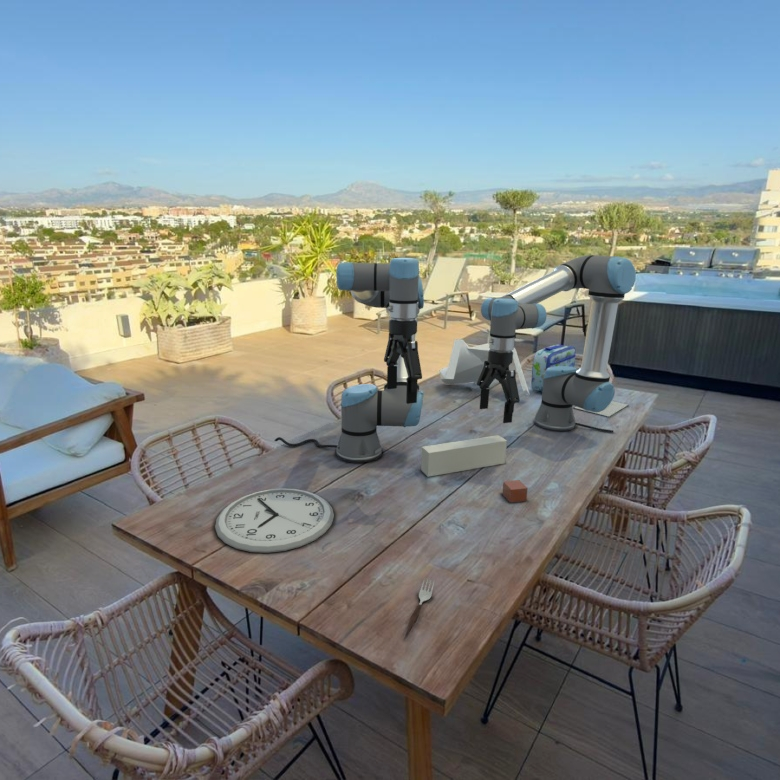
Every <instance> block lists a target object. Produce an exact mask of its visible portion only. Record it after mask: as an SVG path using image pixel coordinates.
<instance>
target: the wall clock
mask: <svg viewBox="0 0 780 780" xmlns="http://www.w3.org/2000/svg"><path fill="white" fill-rule="evenodd" d="M334 518H335V514H334V509H333V507H332V506H331V504H330V503H329V502H328V501H327V499H325V498H323V497H321V496H320V495H318V494H316V493H313V492H311V491H307V490H304V489H296V488H270V489H265V490H260V491H256V492H252V493H250V494H246V495H244V496H242V497H240V498H238V499H236V500H234V501H232V502H231V503H229V504H228V505H227V506H226V507H224V508H223V509H222V510H221V511H220V513H219V515H218V516H217V518H216V520H215V525H214V529H215V532H216V535H217V538H218V539H220V540H221V541H222V542H223V543H224V544H226V545H228V546H230V547H232V548H234V549H236V550H240V551H245V552H248V553H249V552H250V553H261V554H262V553H265V554H270V553H277V552H287V551H290V550H293V549H298V548H301V547H304V546H306V545H308V544H311V543H312V542H314V541H316V540H317V539H319V538H321V537H322V536H323V535H325V534H326V532H327V531H328V530H329V529H330V528H331V526H332V525H333V522H334Z"/></svg>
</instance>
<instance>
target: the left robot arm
mask: <svg viewBox="0 0 780 780" xmlns="http://www.w3.org/2000/svg"><path fill="white" fill-rule="evenodd" d="M420 273H421V272H420V262H419V259H417V258H414V257H413V258H412V257H394V258H391V260H390V261H389V263H388V262H386V263H385V262H374V263H372V262H371V263H370V262H352V261H348V262H340V263H338V264H337V266H336V287H337V289H338V290H339V291H347V292H349V291H350V294H351V296H352V298H353V299H354V300H355V301H356V302H358V303H359V304H362V305H365V306H368V307H371V308H376V309H378V308H379V309H385V312H386V314H387V315H388V316H389V319H388V340H387V343H386V349H385V353H384V358H383V362H384V363H385V364H386V366H387V368H386V383H384V386H383V390H379V389H378V387H377V385H375V384H371V383H362V384H355V385H351V386H349V387H347V388H345V389H344V390H343V391H342V393H341V397H340V398H341V399H340V407H341V408H340V409H341V410H340V411H341V415H340V416H341V419H340V420H341V421H340V422H341V423H340V425H341V433H340V435H339V439H338V442H337V444H320V442H319V441H318V440H317V439H315V438H308V439H304V440H303V441H300V442H296V443H291V442H288V441H287V440H285V439H284V438H283V437H281V436H279V437H276V438H275V439H274V442H278V441H281V442H282V443H283V444H284V445H285V446H289V447H299V446H301V445H304V444H306V443H311V442H313V443H315V444H316V446H317V447H318V448H321V449H322V448H323V449H324V448H326V449H327V448H328V449H329V448H333V449H335V448H336V449H335V453H336V457H337V458H338V459H339V460H341V461H344V462H348V463H351V464H352V463H353V464H364V463H370V462H374V461H376V460H378V459H380V458H381V456H382V455H383V453H382V452H383V447H382V445H381V442H380V438H379V435H378V427H403V428H406V427H416V426H418V425H419V423H420V422H421V421H420V420H421V415H422V409H423V408H422V407H423V402H424V401H423V400H424V391H422V390H420V385H419V384H418V382H419V381H418V380H423V373H422V367H421V361H420V355H419V346H418V345H419V344H418V340H416V334H418V320H417V318H418V317H419V314H420V311H421V310H422V309H423V308H424V306H425V305H424V304H425V299H424V287H423V281H422V279H421V277H420Z"/></svg>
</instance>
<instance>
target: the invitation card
mask: <svg viewBox="0 0 780 780" xmlns="http://www.w3.org/2000/svg"><path fill="white" fill-rule="evenodd" d="M628 406H629V404H627V403H623V402H618V401H614V400H612V401H611V403H610V404H609V406H607V408H606V409H604V410H603V411H601V412H592V411H587V410H585V409H582V408H580V407H577V406H574V407H573V409H575V410H581V411H584V412H587V413H593V414H596V415H600V416H604V417H608V418H609V417H611V416H613V415H614V414H616V413H617V412H619V411H621V410H623V409H624V408H626V407H628Z"/></svg>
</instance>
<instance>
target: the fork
mask: <svg viewBox="0 0 780 780" xmlns="http://www.w3.org/2000/svg"><path fill="white" fill-rule="evenodd" d="M425 579H426V577H424V578H423V581H422V584H421V587H420V590H419V592H418V598H419V599H418V600H419V603H418V605H417V606H416V608H415V609H414V611H413V612H412V615H411V617H410V620H409V623H408V627H407V630H406V632H405V637H407V636H408V635H409V633H410V631H411V629H412V628H413V626H414V625H415V623H416V622H417V620H418V617H419V615H420V611H421V608H422V605H423V603H424V602H426V601H429V600H430V599H431V597H432V596H433V595H432V594H433V590H434V585H435V579H433V582H432V580H429V578H427V579H426V582H425ZM428 581H429V584H428ZM431 583H432V585H431ZM424 584H425V585H424Z"/></svg>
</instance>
